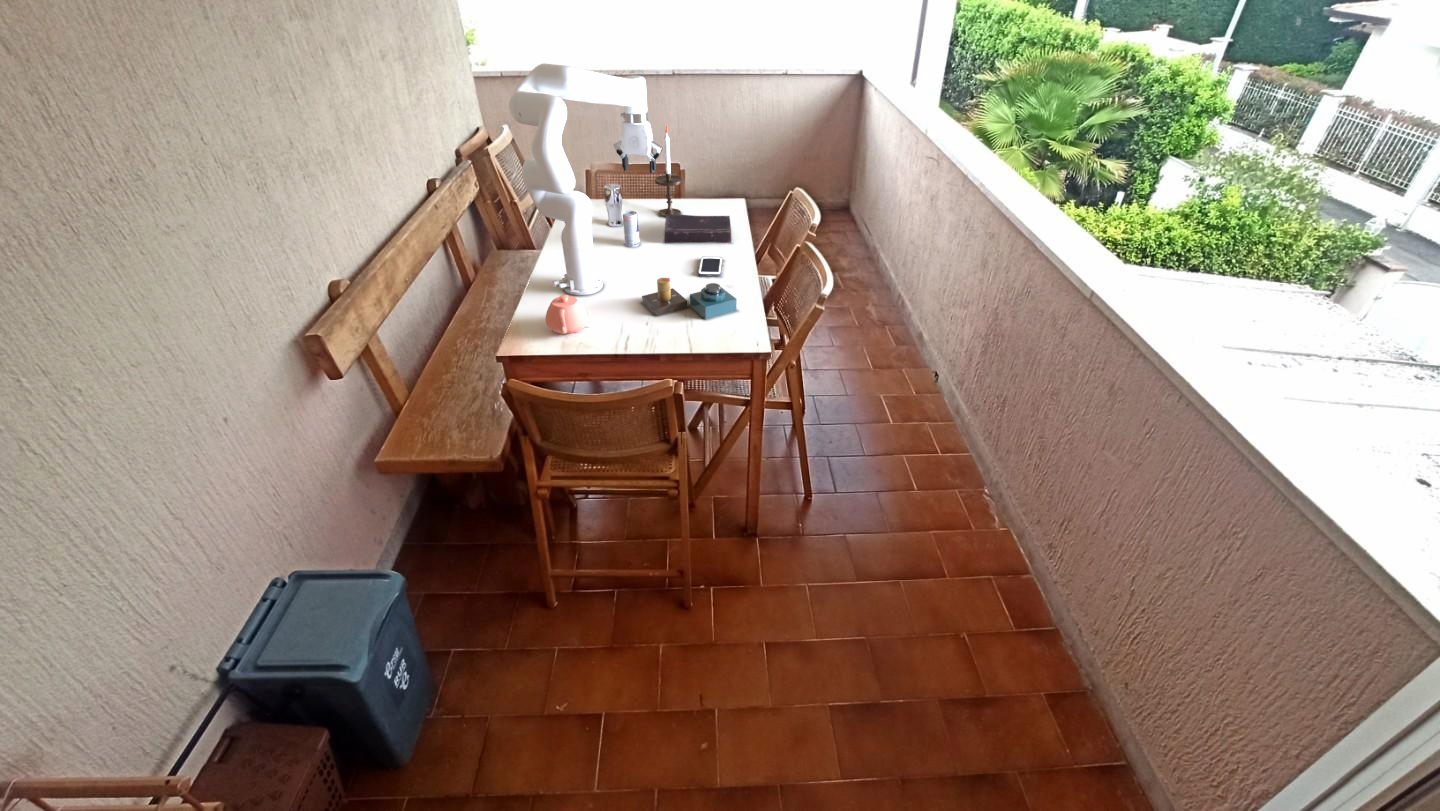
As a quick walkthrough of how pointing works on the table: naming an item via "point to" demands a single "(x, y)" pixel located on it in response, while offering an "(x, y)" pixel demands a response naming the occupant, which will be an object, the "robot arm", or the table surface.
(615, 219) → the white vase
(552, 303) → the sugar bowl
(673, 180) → the candlestick
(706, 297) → the teal push button box
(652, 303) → the knob panel
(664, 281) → the knob
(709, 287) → the dark grey push button
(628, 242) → the energy drink
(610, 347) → the table surface
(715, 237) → the diary
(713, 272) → the cell phone
